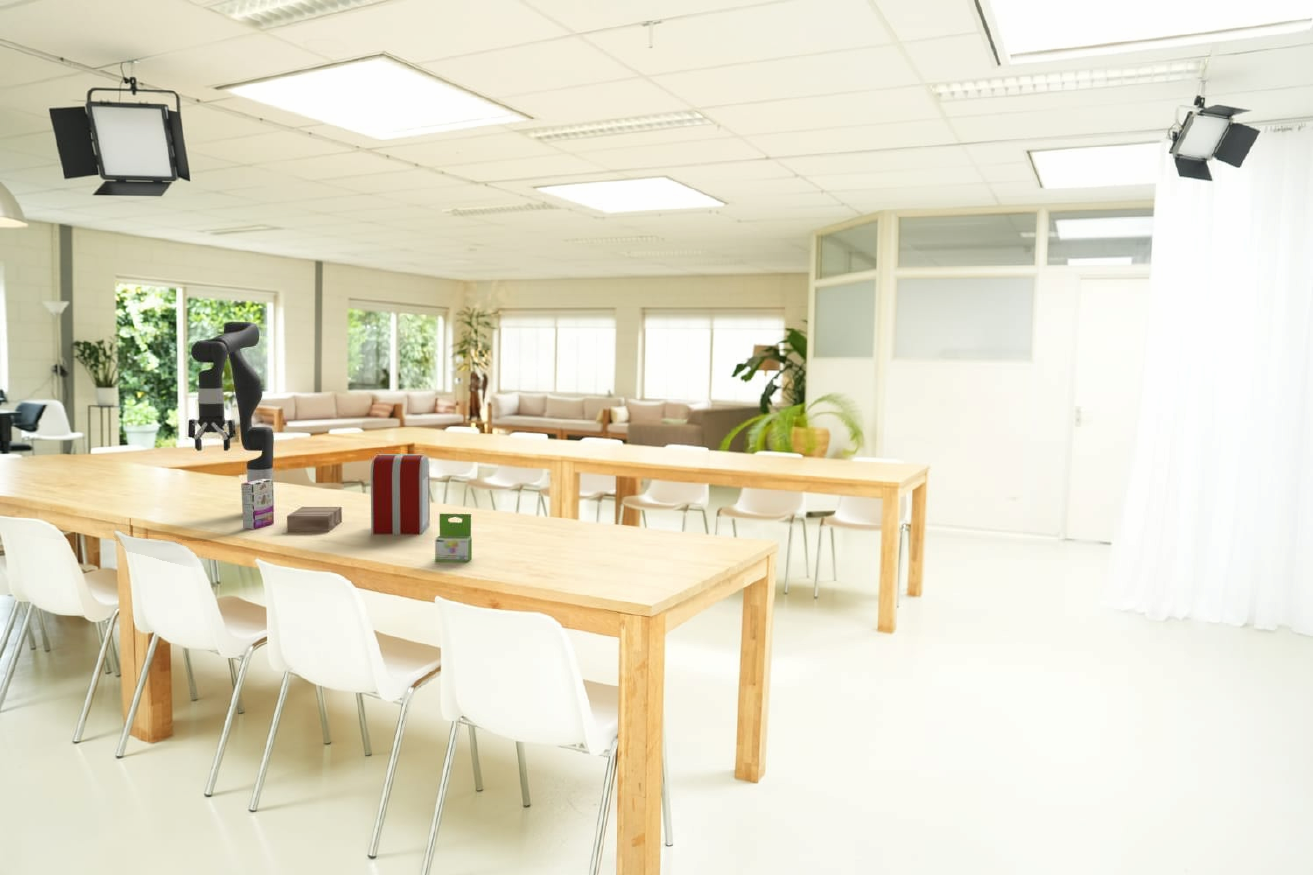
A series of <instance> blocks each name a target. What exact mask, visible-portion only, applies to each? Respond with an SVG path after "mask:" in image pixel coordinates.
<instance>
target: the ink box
mask: <svg viewBox="0 0 1313 875" xmlns="http://www.w3.org/2000/svg"><path fill="white" fill-rule="evenodd" d="M451 518H458V519H460V520H462V521H461V522H456V521H449V519H451ZM438 525H439V535H438V536H437V537H436V538H435V539H434V542H435V543H434V548H435V549H434V553H435V554H434V560H435V562H439V563H440V562H441V563H442V562H445V563H447V562H448V563H449V562H451V563H453V562H454V563H468V562H469V561H470V560H471V559H472V557H473V556H472V554H473V552H472V547H473V546H472V540H473V539H472V513H439V524H438Z"/></svg>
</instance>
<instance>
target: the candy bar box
mask: <svg viewBox="0 0 1313 875" xmlns="http://www.w3.org/2000/svg"><path fill="white" fill-rule="evenodd" d="M240 485H241V487H240V488H241V508H242V509H241V510H242V529H243V528H246V529H245V530H258V529H261V528H265V527H267V526H270V525H273V524H275V520H274V518H275V517H274V512H275V511H274V512H273V488H272V479H259V480H255V481H251V482H247V481H246V482H242V483H241V484H240ZM260 527H261V528H260ZM257 528H258V529H257Z"/></svg>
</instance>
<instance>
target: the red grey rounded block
mask: <svg viewBox="0 0 1313 875" xmlns="http://www.w3.org/2000/svg"><path fill="white" fill-rule="evenodd" d="M429 461H430V460H429V457H428V455H427V454H426V455H425V454H424V453H423V454H421V453H420V454H418V453H416V454H414V453H413V454H411V453H408V454H407V453H405V454H403V453H402V454H401V453H399V454H398V453H394V454H393V453H377V454H376V455H375V456H374V457H373V458H372V461H371V465H370V518H371V519H370V527H371V528H370V531H371V532H370V533H371V535H423V534H424V533H425V532H426V530H428V528H429V527H430V526H431V524H430V522H431V519H430V518H431V517H430V516H431V515H430V512H431V511H430V509H431V508H430V503H431V502H430V499H431V498H430V495H431V494H430V462H429Z"/></svg>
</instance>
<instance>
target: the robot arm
mask: <svg viewBox="0 0 1313 875" xmlns="http://www.w3.org/2000/svg"><path fill="white" fill-rule="evenodd" d="M259 341H260V329H259V327H258V326H257V324H256V323H255V322H251V321H227V322H225V324H224V326H223V333H221V334H219V335H216V336H214V337H212V338H206V339H202V340H198V341H196V342H194V343H193V345H192V346H191V350H190V353H191V357H192V358H193V359H194V361H196V362H197V363H201V364H202V363H203V364H205V363H206V364H213V365H212V366H211V368H209V369H205V370H201V371H199V372H198V395H197V396H198V398H197V402H198V419H195V418H192V419H189V420H188V432H187V433H188V434H187V435H188V436H187V437H188V438H190V439H191V438H192V439H194V449H195V450H196V451H197V452H198V451H202V450H203V448H202V447H203V446H202V445H203V444H202V439H201V438H202V437H203V436H204V434H205V433H207V434H208V433H213V434H215V433H218V434H219V435H220V436H221V437H222V438H223V451H224V452H226V451H227V452H228V451H229V449H230V448H231V439H233V438H235V437H237V431H236V422H235V419H232V418H231V419H228V420H227V419H225V399H224V397H225V396H224V390H223V374H224V370H225V365H226V361H227V359H228V358H229V363H230V367H231V374H232V375H231V376H232V379H233V380H232V381H233V388H234V394H235V398H236V399H235V400H236V404H237V411H238V418H239V430H240V439H241V445H242V448H243V449H244V450H245V451H247V452H248V451H250V452H253V451H254V452H261V455H260V456H258V457H255V458H254V459H250V460H248V461H247V462H246V478H247V479H246V480H247V481H246V482H251V481H255V480H259V479H272V488H273V512H275V497H274V496H275V495H274V494H275V490H274V488H275V487H274V445H275V442H274V439H275V437H274V436H275V434H274V431H273V428H272V427H269V426H253V425H252V424H253V423H252V417H253V415H254V413H255V411H256V409H257V408H258V406H259V404H260V402H261V401H262V398H263V388H262V382H261V378H260V377H259V375H258V373H257V372H256V371H255V369H254V368H253V367H252V366H251V365H250V364H249V363H248V361H247V360H246V359H245V357H244V356H243V354H242V353H243V352H242V351H241V350H242V349H245V348H253V347H255V346H257V345H258V343H259ZM197 425H199V427H200V428H199V429H198V430H197V432H196V426H197ZM225 425H226V426H227V427H228V431H227V430H226V428H225V427H224V426H225ZM228 432H229V433H228Z"/></svg>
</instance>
